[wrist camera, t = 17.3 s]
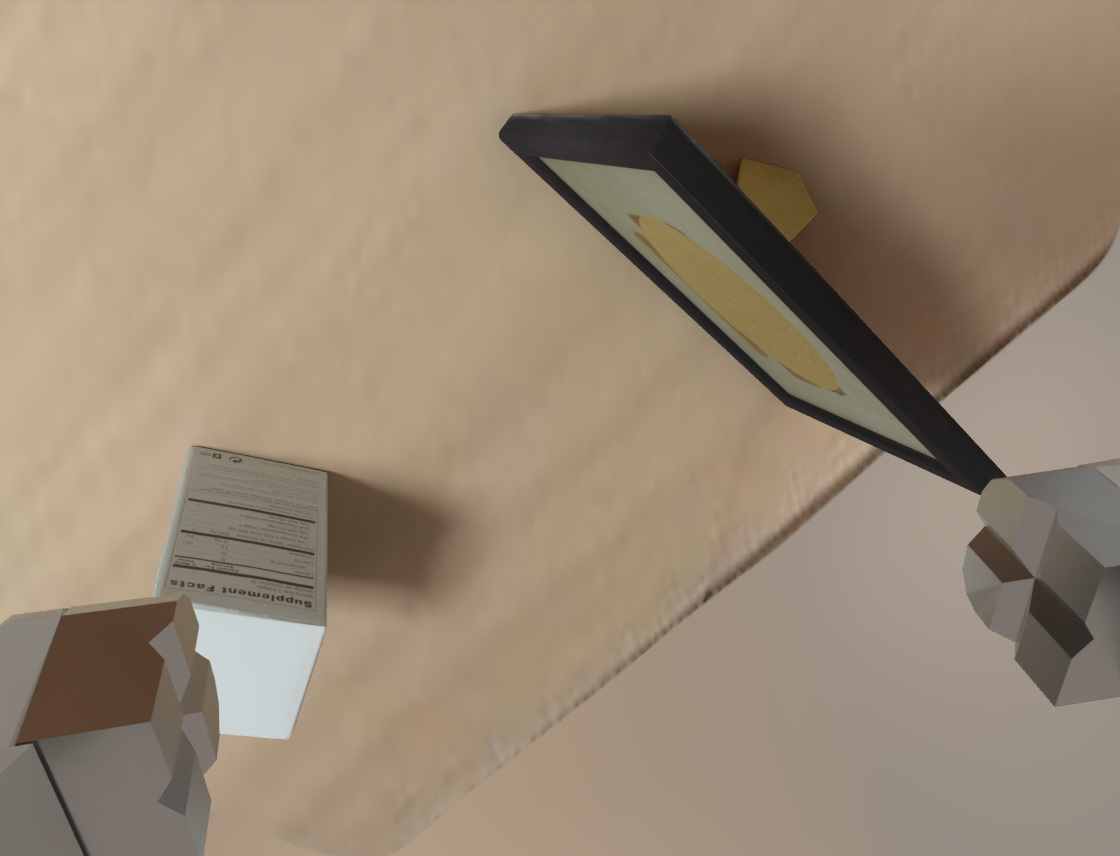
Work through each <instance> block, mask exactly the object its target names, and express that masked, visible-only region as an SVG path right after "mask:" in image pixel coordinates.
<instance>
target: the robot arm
mask: <svg viewBox="0 0 1120 856" xmlns="http://www.w3.org/2000/svg"><path fill="white" fill-rule="evenodd" d="M977 513H978V515H979V516H980V518H981V520H982V521H983V523H984V525H985V527H984V528H983V529H982V530H981V531H980V532H979V533H978V534H977V535H976V536H975V537H974V538H973V540H972V541H971V542H970V543H969V544H968V546H967V551H966V555H965V561H964V565H963V575H964V581H965V587H966V592H967V596H968V598H969V600H970V602H971V604H972V606H973V608H974V610H975V612H976V614H977V615H978V616H979V617H980V618H981V620H982V621H983V622H984V623H985V625H986V626H987V627H988V628H989V629H990V630H992V631H994V632H996V633H998V634H1000V635H1002V636H1004V637H1006V638H1008V639H1010V640H1012V641H1015V661H1016V662H1017V663H1018V664H1019V665H1020V666H1021V668H1022V669H1023V670H1024V671H1025V672H1026V674H1028V676H1029V677H1030V678H1031V679H1032V681H1033V682H1034V683H1035V684H1036V685H1037V687H1038V688H1039V689H1040V690H1041V691H1042V692H1043V694H1044V695H1045V696H1046V697H1047V698H1048V699H1049V701H1050V702H1051V703H1052V704H1053V705H1054V706H1055V707H1057V706H1063V705H1070V704H1076V703H1082V702H1089V701H1095V700H1102V699H1108V698H1115V697H1120V458H1119V459H1113V460H1107V461H1101V462H1095V463H1089V464H1083V465H1079V466H1077V467H1073V468H1065V469H1058V470H1052V471H1045V472H1038V473H1032V474H1025V475H1018V476H1011V477H1004V478H997V479H992V480H991V481H990V482H989V483H988V485H987V486H986V487H985V489H984V490H983V491H982V493H981V497H980V501H979V504H978V508H977ZM198 631H199V623H198V620H197V617H196V614H195V611H194V608H193V605H192V602H191V599H190V598H188V597H187V596H186V595H184V594H174V595H166V596H158V597H149V598H141V599H133V600H124V601H116V602H108V603H100V604H91V605H83V606H75V607H71V608H70V609H64V608H63V609H55V610H48V611H40V612H32V613H24V614H17V615H12V616H10V617H9V618H8V619H7V620H5V621H4V622H3V623H1V625H0V856H203V855H204V847H205V841H206V834H207V826H208V820H209V813H210V805H211V798H210V795H209V792H208V789H207V786H206V783H205V779H204V776H203V775H204V774H205V773H206V771H207V770H208V769H209V768H210V767H211V766H212V765H213V763H214V762H215V761H216V760H217V752H218V743H219V735H220V731H219V701H218V695H217V689H216V682H215V678H214V674H213V671H212V667H211V664H210V661H209V660H208V659H206V658H205V657H203V656H202V655H200V654H199V653H197V652H196V651H195V648H196V642H197V637H198Z"/></svg>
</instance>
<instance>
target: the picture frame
mask: <svg viewBox="0 0 1120 856" xmlns="http://www.w3.org/2000/svg"><path fill="white" fill-rule="evenodd" d="M499 137H500V139H501V141H502V142H504V143H505V144H506V145H507V146H508V147H509V148H510V149H511V150H512V151H513V152H514V153H515V154H516V155H517V156H519V157H520V158H521V159H522V160H523V161H524V162H525V163H526V164H527V165H528V166H529V167H530V168H531V169H533V170H534V171H535V172H536V173H537V174H538V175H539V176H540V177H541V178H542V179H543V180H544V181H545V182H546V183H548V184H549V185H550V186H551V187H552V188H553V189H554V190H555V191H556V192H557V193H558V194H559V195H560V196H561V197H563V198H564V199H565V200H566V201H567V202H568V203H569V204H570V205H571V206H572V207H573V208H574V209H575V210H577V211H578V212H579V213H580V214H581V215H582V216H583V217H584V218H585V219H586V220H587V221H588V222H589V223H590V224H592V225H593V226H594V227H595V228H596V229H597V230H598V231H599V232H600V233H601V234H602V235H603V236H604V237H606V238H607V239H608V240H609V241H610V242H611V243H612V244H613V245H614V246H615V247H616V248H617V249H618V250H619V251H621V252H622V253H623V254H624V255H625V256H626V257H627V258H628V259H629V260H630V261H631V262H632V263H633V264H634V265H636V266H637V267H638V268H639V269H640V270H641V271H642V272H643V273H644V274H645V275H646V276H647V277H648V278H650V279H651V280H652V281H653V282H654V283H655V284H656V285H657V286H658V287H659V288H660V289H661V290H662V291H663V292H665V293H666V294H667V295H668V296H669V297H670V298H671V299H672V300H673V301H674V302H675V303H676V304H677V305H678V306H680V307H681V308H682V309H683V310H684V311H685V312H686V313H687V314H688V315H689V316H690V317H691V318H692V319H694V320H695V321H696V322H697V323H698V324H699V325H700V326H701V327H702V328H703V329H704V330H705V331H706V332H707V333H709V334H710V335H711V336H712V337H713V338H714V339H715V340H716V341H717V342H718V343H719V344H720V345H721V346H722V347H724V348H725V349H726V350H727V351H728V352H729V353H730V354H731V355H732V356H733V357H734V358H735V359H736V360H738V361H739V362H740V363H741V364H742V365H743V366H744V367H745V368H746V369H747V370H748V371H749V372H750V373H751V374H753V375H754V376H755V377H756V378H757V379H758V380H759V381H760V382H761V383H762V384H763V385H764V386H765V387H766V388H768V389H769V390H770V391H771V392H772V393H773V394H774V395H775V396H776V397H777V398H778V399H779V400H780V401H782V402H783V403H784V404H785V405H786V406H788V407H790V408H792V409H794V410H797V411H799V412H801V413H803V414H805V415H807V416H810V417H812V418H814V419H816V420H818V421H820V422H823V423H825V424H827V425H829V426H831V427H833V428H836V429H838V430H840V431H842V432H844V433H846V434H849V435H851V436H853V437H855V438H857V439H859V440H862V441H864V442H866V443H868V444H870V445H872V446H875V447H877V448H879V449H881V450H883V451H886V452H888V453H890V454H892V455H894V456H896V457H899V458H901V459H903V460H905V461H907V462H909V463H912V464H914V465H916V466H918V467H920V468H922V469H925V470H927V471H929V472H931V473H933V474H935V475H938V476H940V477H942V478H944V479H946V480H949V481H951V482H953V483H955V484H957V485H959V486H961V487H964V488H966V489H968V490H970V491H972V492H974V493H977V494H979V495H981V493H982V491H983V490H984V489H985V487H986V486H987V485H988V483H989V482H990V481H991V480H992V479H997V478H1004V477H1007V476H1006V475H1005V474H1004V473H1003V472H1002V471H1001V470H1000V469H999V468H998V467H997V466H996V464H995V463H994V462H993V461H992V460H991V459H990V458H989V457H988V456H987V455H986V454H985V453H984V452H983V450H982V449H981V448H980V447H979V446H978V445H977V444H976V443H975V442H974V441H973V440H972V439H971V437H970V436H969V435H968V434H967V433H966V432H965V431H964V430H963V429H962V428H961V427H960V426H959V425H958V423H957V422H956V421H955V420H954V419H953V418H952V417H951V416H950V415H949V414H948V413H947V411H946V410H945V409H944V408H943V407H942V406H941V405H940V404H939V403H938V402H937V401H936V400H935V399H934V397H933V396H932V395H931V394H930V393H929V392H928V391H927V390H926V389H925V388H924V387H923V386H922V384H921V383H920V382H919V381H918V380H917V379H916V378H915V377H914V376H913V375H912V374H911V373H910V372H909V370H908V369H907V368H906V367H905V366H904V365H903V364H902V363H901V362H900V361H899V360H898V359H897V357H896V356H895V355H894V354H893V353H892V352H891V351H890V350H889V349H888V348H887V347H886V346H885V345H884V343H883V342H882V341H881V340H880V339H879V338H878V337H877V336H876V335H875V334H874V333H873V332H872V330H871V329H870V328H869V327H868V326H867V325H866V324H865V323H864V322H863V321H862V320H861V319H860V318H859V316H858V315H857V314H856V313H855V312H854V311H853V310H852V309H851V308H850V307H849V306H848V305H847V303H846V302H845V301H844V300H843V299H842V298H841V297H840V296H839V295H838V294H837V293H836V292H835V291H834V289H833V288H832V287H831V286H830V285H829V284H828V283H827V282H826V281H825V280H824V279H823V278H822V276H821V275H820V274H819V273H818V272H817V271H816V270H815V269H814V268H813V267H812V266H811V265H810V264H809V262H808V261H807V260H806V259H805V258H804V257H803V256H802V255H801V254H800V253H799V252H798V251H797V249H796V248H795V247H794V246H793V245H792V244H791V243H790V241H791V240H792V239H793V238H794V237H795V236H796V235H797V234H798V233H799V232H800V231H801V230H802V229H803V228H804V227H805V226H806V225H807V224H808V223H809V222H810V221H811V220H812V219H813V218H814V217H815V216H816V215H817V214H818V212H817V210H816V207H815V205H814V203H813V201H812V199H811V197H810V195H809V192H808V190H807V188H806V186H805V184H804V182H803V180H802V178H801V175H800V173H799V172H797V171H793V170H790V169H786V168H782V167H778V166H774V165H770V164H766V163H762V162H758V161H753V160H749V159H745V158H743V159H742V160H741V161H740V167H739V173H738V179H737V185H736V184H735V182H734V181H733V180H732V179H731V178H730V177H729V176H728V175H727V174H726V173H725V172H724V171H723V170H722V168H721V167H720V166H719V165H718V164H717V163H716V162H715V161H714V160H713V159H712V158H711V157H710V155H709V154H708V153H707V152H706V151H705V150H704V149H703V148H702V147H701V146H700V145H699V144H698V143H697V141H696V140H695V139H694V138H693V137H692V136H691V135H690V134H689V133H688V132H687V131H686V130H685V128H684V127H683V126H682V125H681V124H680V123H679V122H678V121H677V120H676V119H675V118H674V117H673V116H667V115H574V114H513V115H512V116H511V117H510V118H509V120H508V121H507V122H506V124H505V125H504V126H503V128H502V129H501V130H500V132H499Z"/></svg>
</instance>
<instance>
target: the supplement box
mask: <svg viewBox="0 0 1120 856" xmlns="http://www.w3.org/2000/svg"><path fill="white" fill-rule="evenodd" d="M327 556H328V474H327V473H326V472H322V471H319V470H314V469H310V468H305V467H300V466H294V465H290V464H285V463H280V462H274V461H270V460H265V459H259V458H254V457H249V456H244V455H240V454H234V453H229V452H224V451H218V450H213V449H208V448H202V447H197V446H192V447H190V449H189V452H188V456H187V459H186V463H185V466H184V469H183V473H182V477H181V481H180V485H179V488H178V492H177V496H176V500H175V504H174V508H173V513H172V517H171V521H170V526H169V530H168V533H167V537H166V541H165V545H164V549H163V553H162V557H161V562H160V566H159V570H158V574H157V578H156V583H155V587H154V591H153V595H152V597H158V596H166V595H174V594H184V595H186V596H187V597H188V598H190V599H191V602H192V605H193V608H194V611H195V614H196V617H197V620H198V623H199V631H198V637H197V642H196V648H195V651H196V652H197V653H199V654H200V655H202V656H203V657H205V658H206V659H208V660H209V661H210V664H211V667H212V671H213V674H214V678H215V682H216V689H217V695H218V701H219V731H220V734H230V735H241V736H253V737H263V738H273V739H289V738H290V737H291V734H292V732H293V729H294V726H295V724H296V721H297V718H298V715H299V712H300V709H301V706H302V703H303V700H304V697H305V694H306V691H307V688H308V685H309V681H310V678H311V675H312V672H313V669H314V666H315V663H316V660H317V657H318V654H319V650H320V647H321V644H322V641H323V637H324V634H325V631H326V627H327V623H326V619H327Z"/></svg>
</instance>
